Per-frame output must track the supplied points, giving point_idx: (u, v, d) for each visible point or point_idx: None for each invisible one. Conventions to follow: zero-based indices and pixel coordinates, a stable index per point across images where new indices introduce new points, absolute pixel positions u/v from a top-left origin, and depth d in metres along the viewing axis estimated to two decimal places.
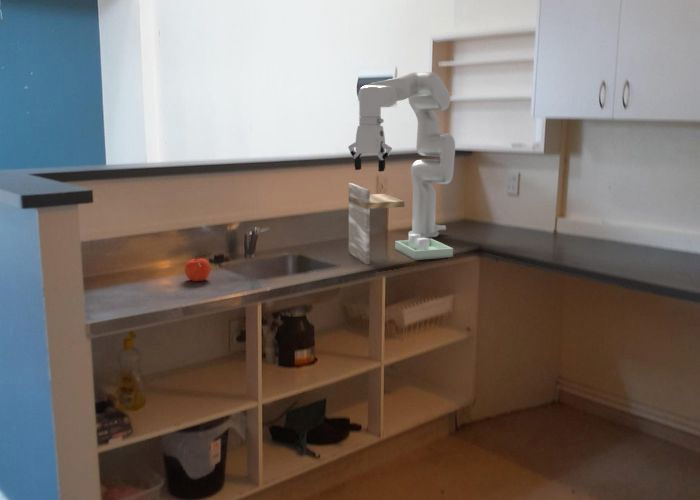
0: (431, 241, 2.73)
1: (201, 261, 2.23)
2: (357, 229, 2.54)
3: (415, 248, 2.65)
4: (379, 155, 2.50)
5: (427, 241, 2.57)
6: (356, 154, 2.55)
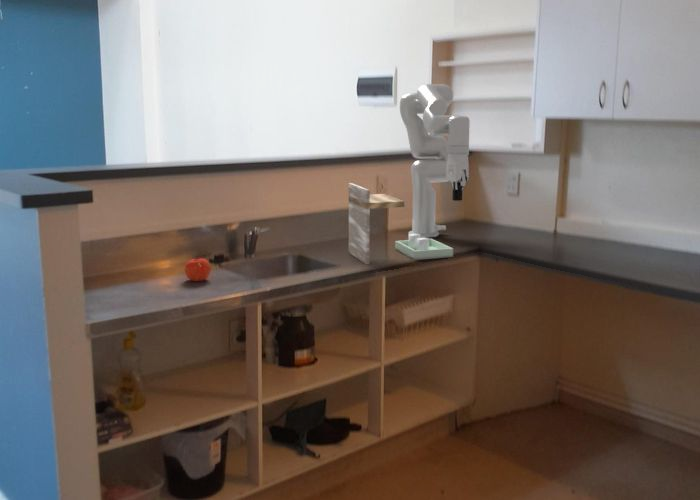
0: (431, 241, 2.73)
1: (201, 261, 2.23)
2: (357, 229, 2.54)
3: (415, 248, 2.65)
4: None
5: (427, 241, 2.57)
6: None
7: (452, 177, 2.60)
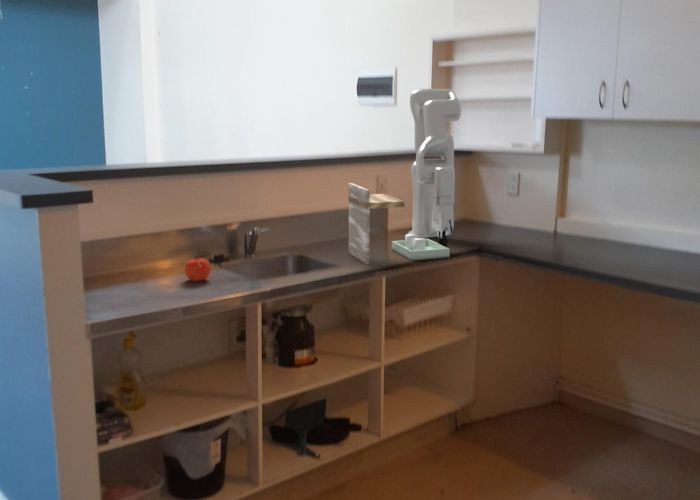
0: (428, 241, 2.73)
1: (201, 261, 2.23)
2: (357, 229, 2.54)
3: (412, 248, 2.65)
4: None
5: (423, 241, 2.57)
6: None
7: (437, 226, 2.63)
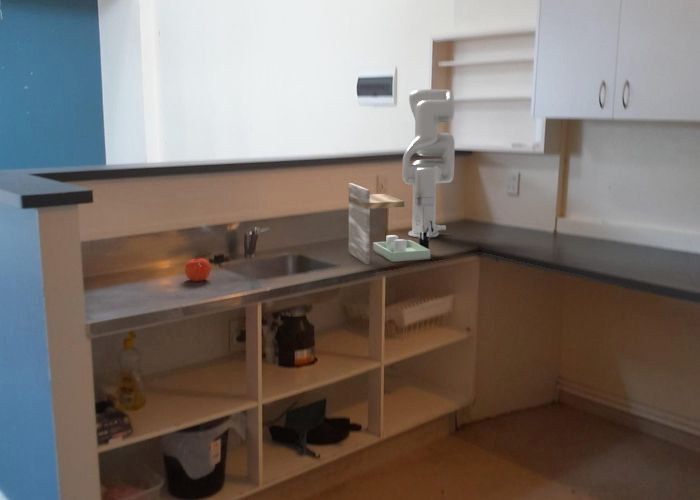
0: (409, 242, 2.70)
1: (201, 261, 2.23)
2: (357, 229, 2.54)
3: (393, 250, 2.62)
4: None
5: (404, 243, 2.55)
6: None
7: (418, 228, 2.60)
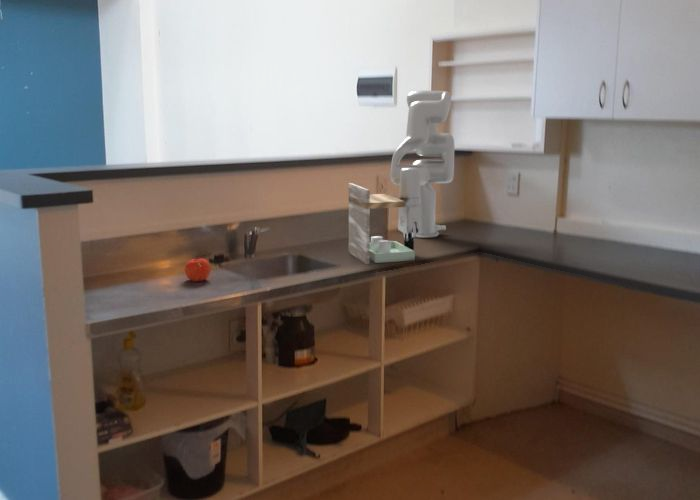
0: (395, 243, 2.69)
1: (201, 261, 2.23)
2: (357, 229, 2.54)
3: (377, 251, 2.61)
4: None
5: (388, 244, 2.53)
6: None
7: (403, 228, 2.59)
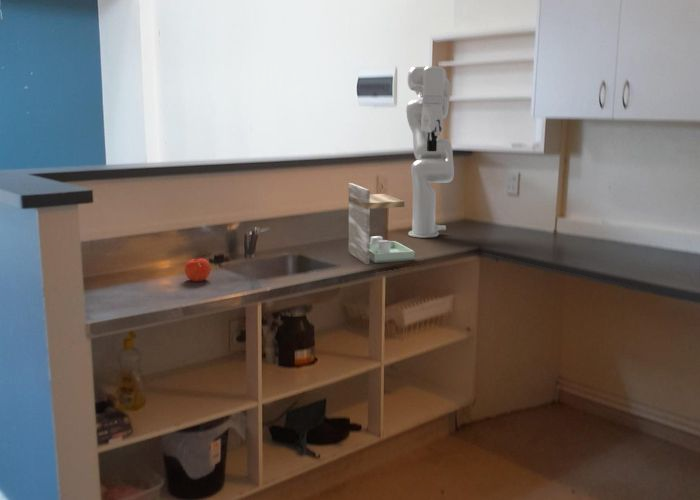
0: (394, 243, 2.69)
1: (201, 261, 2.23)
2: (357, 229, 2.54)
3: (377, 251, 2.61)
4: None
5: (388, 244, 2.53)
6: None
7: (426, 127, 2.62)
